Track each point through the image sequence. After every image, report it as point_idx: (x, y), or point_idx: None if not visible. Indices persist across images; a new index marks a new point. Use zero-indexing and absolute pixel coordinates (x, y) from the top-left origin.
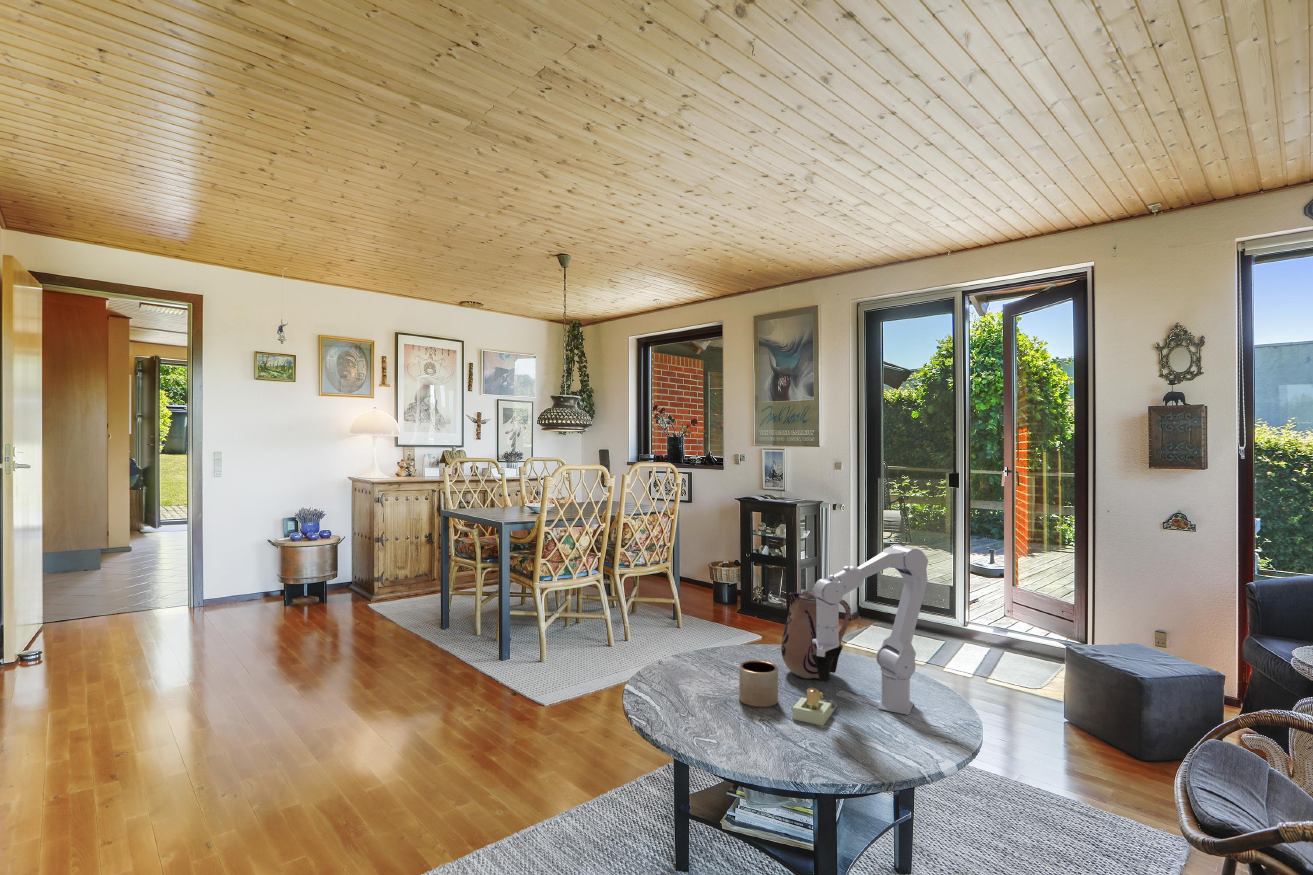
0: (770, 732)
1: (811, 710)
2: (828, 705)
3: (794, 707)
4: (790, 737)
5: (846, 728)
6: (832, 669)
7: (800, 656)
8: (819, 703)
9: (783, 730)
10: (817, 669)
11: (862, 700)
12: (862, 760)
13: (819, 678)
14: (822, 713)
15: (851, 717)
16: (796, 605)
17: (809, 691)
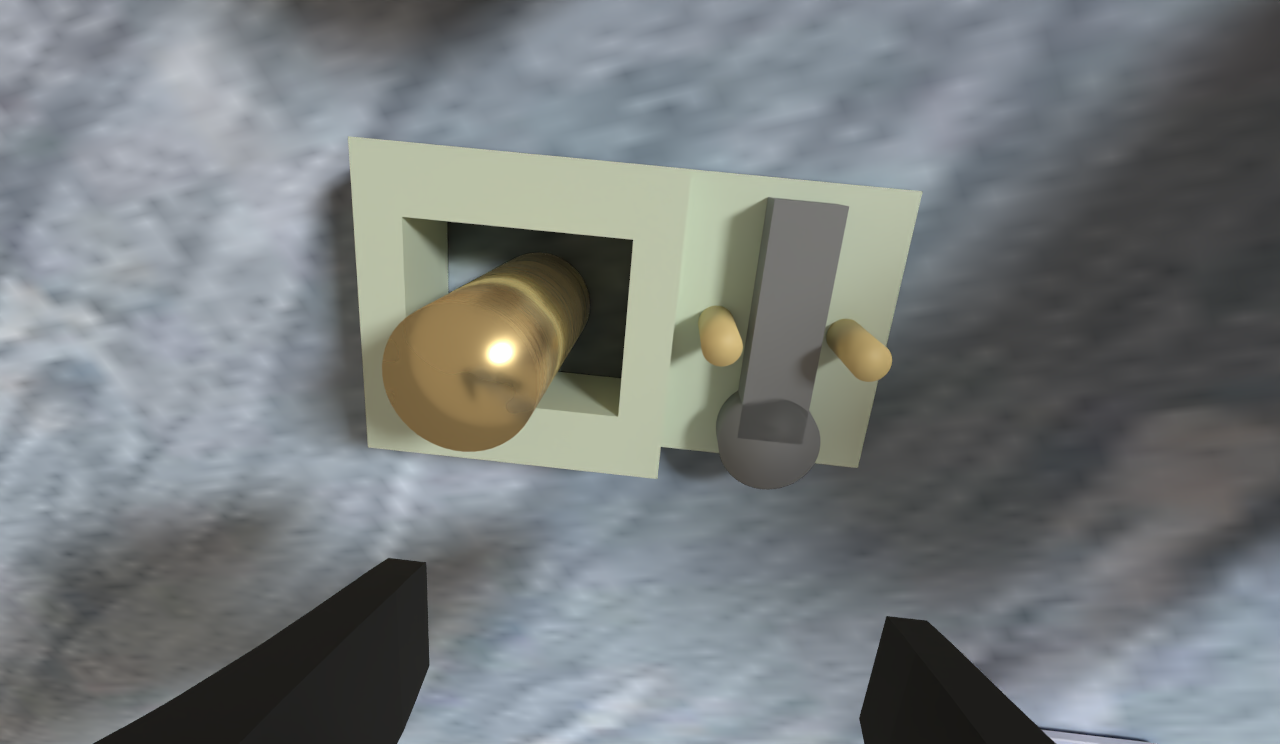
0: (15, 16)
1: (382, 337)
2: (589, 462)
3: (356, 157)
4: (54, 210)
5: (460, 554)
6: (884, 733)
7: None
8: (624, 373)
9: (131, 121)
10: (202, 682)
11: (1064, 614)
12: (85, 660)
13: (365, 573)
14: (373, 439)
15: (674, 568)
16: None
17: (391, 346)
